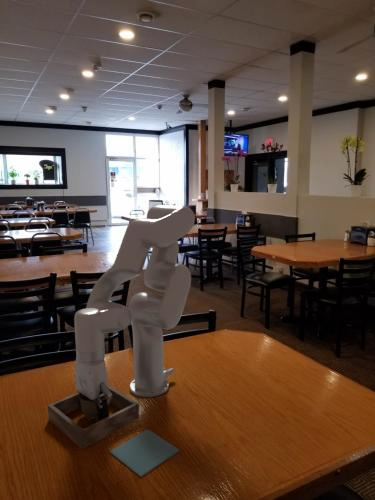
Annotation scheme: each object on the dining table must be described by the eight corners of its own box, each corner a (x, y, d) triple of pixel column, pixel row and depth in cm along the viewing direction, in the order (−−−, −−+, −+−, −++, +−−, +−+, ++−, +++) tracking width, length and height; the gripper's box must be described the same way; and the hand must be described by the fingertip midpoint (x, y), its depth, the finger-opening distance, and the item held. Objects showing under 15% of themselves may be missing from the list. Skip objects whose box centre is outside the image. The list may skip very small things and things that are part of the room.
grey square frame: (103, 395, 120) (102, 381, 120) (139, 418, 108) (138, 403, 107) (48, 420, 108) (47, 405, 107) (82, 449, 95) (81, 432, 94)
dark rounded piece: (100, 428, 103) (99, 401, 102) (75, 425, 105) (74, 398, 104) (111, 413, 111) (110, 387, 109) (87, 410, 112) (86, 384, 111)
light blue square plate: (147, 430, 102) (147, 429, 102) (179, 451, 94) (179, 449, 94) (109, 452, 94) (109, 451, 94) (141, 477, 86) (140, 475, 85)
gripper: (62, 349, 108) (65, 405, 111) (96, 368, 96) (99, 430, 99) (85, 341, 113) (88, 395, 116) (120, 358, 101) (123, 418, 104)
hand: (93, 411), depth 107 cm, fingers open, 9 cm apart
